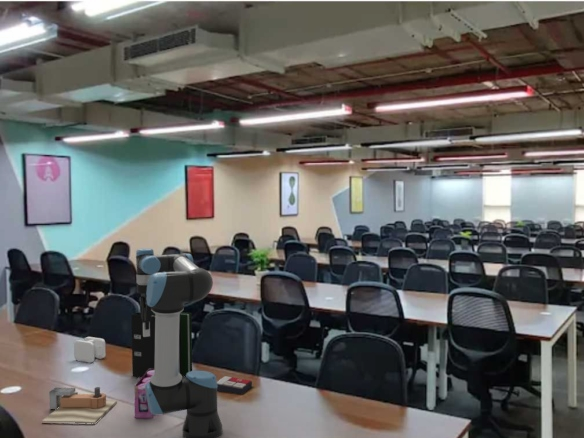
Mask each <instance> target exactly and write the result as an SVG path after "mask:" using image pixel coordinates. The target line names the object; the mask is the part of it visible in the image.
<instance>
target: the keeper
mask: <svg viewBox="0 0 584 438" xmlns="http://www.w3.org/2000/svg"><path fill="white" fill-rule="evenodd" d="M71 394H78V392H77V391H76V387H54V388H53V389H51V390H49V395H48V396H49V410H50V409H57V408H58V407H60V406H61V401H60V398H61V397H63V396H64V395H67V396H70V395H71Z"/></svg>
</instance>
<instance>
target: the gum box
mask: <svg viewBox="0 0 584 438" xmlns="http://www.w3.org/2000/svg"><path fill="white" fill-rule="evenodd" d="M154 370H155V369H148V370H147V371H146V373H145V374H144V375H143V376H142V378H140V379H139V380H138V381H137V382H136V383H135V385H134V418H135V419H137V418H138V419H139V418H140V419H154V416H155V415H153V414H151V412H150V410H149V407H148V402H147V397H146V391H145V385H146V384H147V383H150V378H151V376H152V375H153V374H154Z"/></svg>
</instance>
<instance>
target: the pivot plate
mask: <svg viewBox="0 0 584 438" xmlns="http://www.w3.org/2000/svg"><path fill="white" fill-rule="evenodd" d="M93 390H94V394H95V398H98V397H100V393H101V387H100V386H97V387H94V389H93ZM117 403H118V402H117V400H106V405H105V406H104V407H100V408H90V407H61V406H60V407H59V408H58V409H56V410H53V411H52V412H51V413H49V415H47V416H46V417H44V419H42V420H41V422H42V421H47V422H48V421H49V422H75V423H85V424H87V423H91V424H92V423H93V424H95V423H96V422H97V421H98V420H99V419H100V418H101V419H102V418H104V416H106V414H107V413H109V412H110V411H111V410H112V408H115V406H116V405H117ZM101 419H100V420H101ZM100 420H99V421H100ZM99 421H98V422H99ZM98 422H97V423H98ZM97 423H96V424H97ZM96 424H95V425H96Z"/></svg>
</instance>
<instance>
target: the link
mask: <svg viewBox="0 0 584 438" xmlns="http://www.w3.org/2000/svg"><path fill="white" fill-rule="evenodd" d="M60 401H61V407H90V408H100V407H104V406H105V405H106V401H107V394H105V393H103V392H100V397H98V398H95V393H89V394H86V393H84V394H83V393H82V394H81V393H79V394H71V395H70V396H67V395H62V397H61V398H60Z"/></svg>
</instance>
